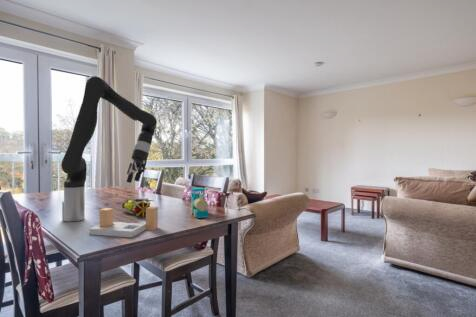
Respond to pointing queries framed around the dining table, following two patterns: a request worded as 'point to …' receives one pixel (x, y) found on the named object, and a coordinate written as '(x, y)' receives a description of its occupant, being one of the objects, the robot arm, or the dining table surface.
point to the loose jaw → (151, 218)
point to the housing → (118, 229)
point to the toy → (137, 205)
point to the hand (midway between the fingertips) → (132, 181)
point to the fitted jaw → (106, 217)
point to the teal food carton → (198, 203)
